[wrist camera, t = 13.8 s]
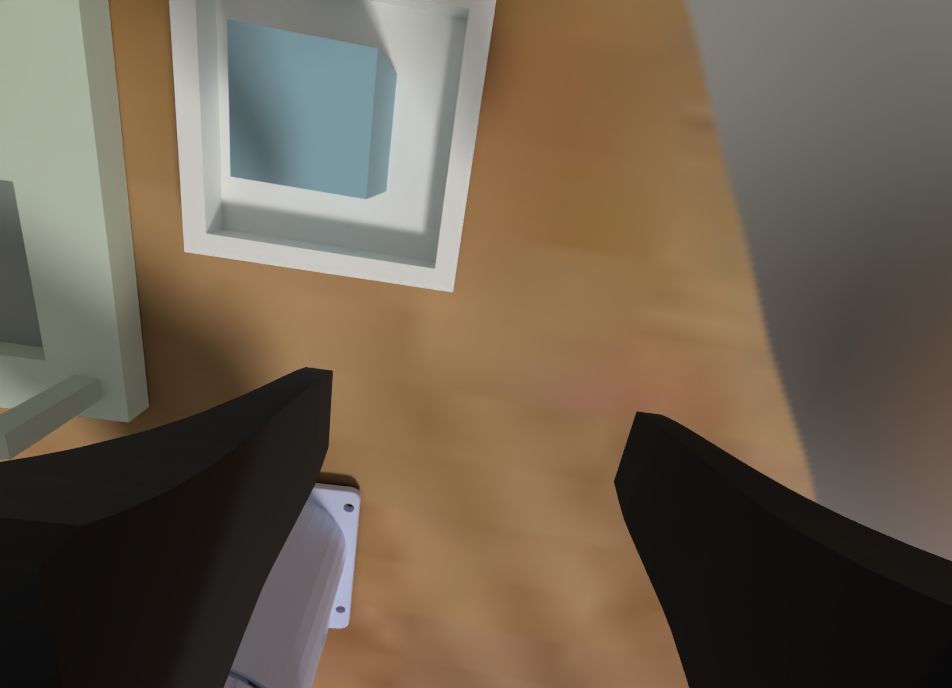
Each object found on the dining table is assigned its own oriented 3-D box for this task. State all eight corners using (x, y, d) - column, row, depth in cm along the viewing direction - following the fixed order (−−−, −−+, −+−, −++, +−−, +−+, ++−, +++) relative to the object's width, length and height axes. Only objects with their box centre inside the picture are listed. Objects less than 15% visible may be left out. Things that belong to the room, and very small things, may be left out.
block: (386, 191, 18) (365, 199, 14) (279, 173, 18) (230, 176, 14) (396, 73, 17) (377, 48, 13) (281, 51, 16) (226, 18, 12)
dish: (453, 281, 20) (452, 292, 18) (209, 243, 19) (184, 251, 17) (495, 1, 16) (498, -17, 15) (196, -59, 15) (164, -86, 14)
